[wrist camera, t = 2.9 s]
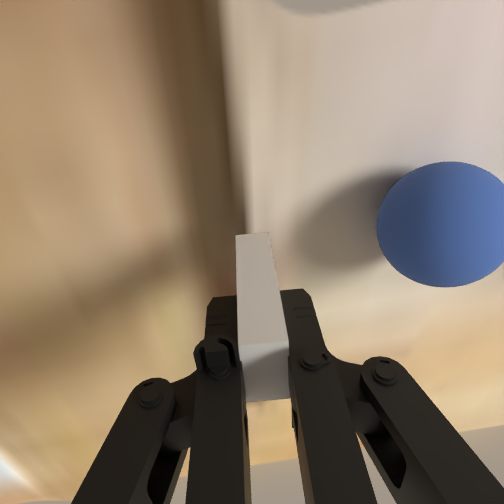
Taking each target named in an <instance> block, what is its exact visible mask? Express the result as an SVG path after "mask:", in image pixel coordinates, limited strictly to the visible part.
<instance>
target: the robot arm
mask: <svg viewBox="0 0 504 504" xmlns="http://www.w3.org/2000/svg"><path fill="white" fill-rule="evenodd" d="M236 272H237V295H235V296H224V297H213V298H212V300H211V302H210V303H209V305H208V306H207V314H206V327H205V337H204V339H203V340H202V341H200V343H199V344H198V345H197V346H196V347H195V350H194V353H193V354H194V359H195V363H196V367H197V370H196V371H195V372H193V373H192V374H191V375H189V376H188V377H185V378H183V379H181V380H178V381H176V382H173V383H170V382H169V381H168V380H166V379H162V378H151V379H148V380H145V381H143V382H141V383H140V384H139V385H137V386H136V387H135V388H134V389H133V391H132V392H131V393H130V395H129V397H128V399H127V400H126V402H125V404H124V406H123V408H122V410H121V412H120V413H119V415H118V417H117V419H116V421H115V423H114V425H113V426H112V428H111V430H110V432H109V434H108V436H107V438H106V439H105V441H104V443H103V445H102V447H101V449H100V451H99V453H98V454H97V456H96V458H95V460H94V462H93V464H92V466H91V467H90V469H89V471H88V473H87V475H86V477H85V479H84V480H83V482H82V484H81V486H80V488H79V490H78V492H77V493H76V495H75V497H74V499H73V501H72V503H71V504H170V502H171V499H172V496H173V493H174V490H175V486H176V484H177V480H178V478H179V475H180V472H181V469H182V466H183V463H184V460H185V457H186V454H187V451H188V448H189V447H191V449H190V460H189V471H188V482H187V492H186V504H252V503H251V481H250V459H249V437H248V417H247V410H246V402H255V401H266V400H277V399H288V398H291V404H292V428H294V432H295V438H296V445H297V451H298V458H299V464H300V471H301V477H302V484H303V490H304V496H305V503H306V504H377V501H376V497H375V494H374V491H373V487H372V484H371V481H370V478H369V474H368V471H367V468H366V465H365V461H364V458H363V455H362V451H361V448H360V445H359V441H358V438H357V435H358V437H359V438H360V440H361V442H362V444H363V445H364V447H365V449H366V451H367V452H368V454H369V456H370V458H371V459H372V461H373V463H374V465H375V466H376V468H377V470H378V472H379V473H380V475H381V477H382V479H383V480H384V482H385V484H386V486H387V487H388V489H389V491H390V493H391V494H392V496H393V498H394V500H395V501H396V503H397V504H504V488H503V487H502V485H501V484H500V483H499V482H498V480H497V479H496V478H495V477H494V476H493V474H492V473H491V472H490V471H489V470H488V468H487V467H486V466H485V465H484V464H483V462H482V461H481V460H480V459H479V457H478V456H477V455H476V454H475V453H474V451H473V450H472V449H471V448H470V447H469V445H468V444H467V443H466V442H465V441H464V439H463V438H462V437H461V436H460V435H459V433H458V432H457V431H456V430H455V428H454V427H453V426H452V425H451V424H450V422H449V421H448V420H447V419H446V418H445V416H444V415H443V414H442V413H441V412H440V410H439V409H438V408H437V407H436V405H435V404H434V403H433V402H432V401H431V399H430V398H429V397H428V396H427V395H426V393H425V392H424V391H423V390H422V389H421V387H420V386H419V385H418V384H417V382H416V381H415V380H414V379H413V378H412V376H411V375H410V374H409V373H408V372H407V370H406V369H405V368H404V367H403V366H402V365H401V364H399V363H398V362H397V361H395V360H392V359H390V358H387V357H381V356H379V357H372V358H370V359H368V360H366V361H365V362H364V364H363V365H359V364H353V363H348V362H345V361H341V360H339V359H337V358H336V357H334V356H333V355H332V354H331V353H330V352H329V351H328V350H327V348H326V346H325V343H324V340H323V336H322V333H321V329H320V326H319V323H318V319H317V316H316V313H315V309H314V306H313V302H312V299H311V296H310V295H309V294H308V293H307V292H306V291H305V290H304V289H292V290H281V291H279V286H278V280H277V275H276V269H275V264H274V258H273V253H272V247H271V242H270V236H269V232H267V233H256V234H245V235H236ZM356 433H357V435H356Z"/></svg>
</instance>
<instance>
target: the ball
mask: <svg viewBox="0 0 504 504" xmlns="http://www.w3.org/2000/svg"><path fill="white" fill-rule="evenodd" d="M376 230H377V238H378V241H379V245H380V248H381V250H382V252H383V254H384V256H385V257H386V259H387V260H388V261H389V263H390V264H391V265H392V266H393V267H394V268H395V269H396V270H397V271H399V272H400V273H401V274H403V275H404V276H406V277H407V278H409V279H411V280H413V281H415V282H418V283H421V284H424V285H428V286H434V287H457V286H462V285H466V284H470V283H473V282H475V281H477V280H480V279H482V278H484V277H486V276H487V275H489V274H490V273H492V272H493V271H494V270H496V269H497V268H498V267H499V266H500V265H501V264H502V263H503V262H504V184H503V183H502V182H501V181H500V180H499V179H498V178H497V177H495V176H494V175H493V174H491V173H490V172H488V171H486V170H484V169H482V168H479V167H477V166H475V165H471V164H467V163H462V162H439V163H433V164H429V165H426V166H423V167H420V168H418V169H415V170H414V171H412V172H410V173H408V174H407V175H405V176H404V177H402V178H401V179H400V180H399V181H398V182H397V183H396V184H395V185H394V186H393V187H392V188H391V189H390V190H389V191H388V193H387V194H386V196H385V197H384V199H383V201H382V203H381V206H380V209H379V212H378V216H377V224H376Z"/></svg>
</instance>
